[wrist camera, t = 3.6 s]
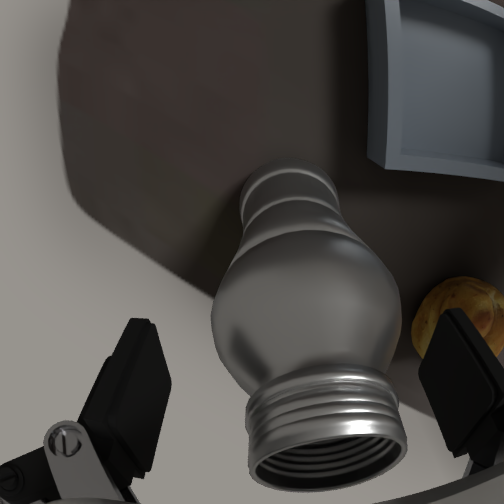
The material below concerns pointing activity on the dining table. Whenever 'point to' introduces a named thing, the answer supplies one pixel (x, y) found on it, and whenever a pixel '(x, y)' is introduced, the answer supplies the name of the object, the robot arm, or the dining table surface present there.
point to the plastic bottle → (309, 336)
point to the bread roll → (471, 302)
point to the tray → (436, 86)
